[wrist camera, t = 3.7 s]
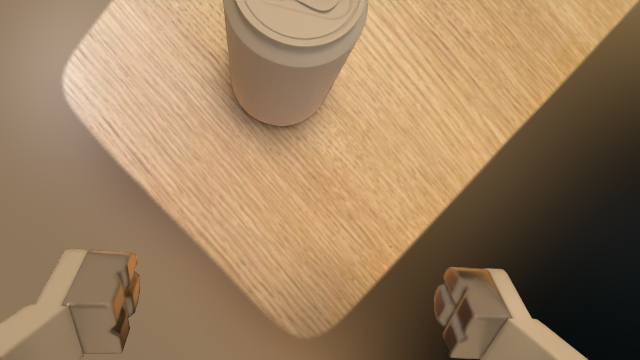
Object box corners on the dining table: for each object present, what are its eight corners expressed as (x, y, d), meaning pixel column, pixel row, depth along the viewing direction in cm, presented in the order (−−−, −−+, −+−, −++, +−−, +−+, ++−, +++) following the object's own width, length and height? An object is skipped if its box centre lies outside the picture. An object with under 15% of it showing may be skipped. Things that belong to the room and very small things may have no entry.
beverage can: (259, 22, 29) (266, -121, 18) (341, 67, 30) (400, -43, 18) (214, 100, 28) (189, 2, 17) (300, 145, 29) (336, 82, 17)
